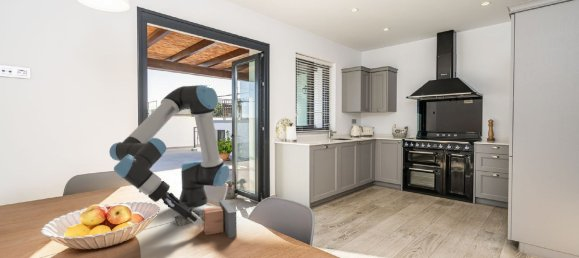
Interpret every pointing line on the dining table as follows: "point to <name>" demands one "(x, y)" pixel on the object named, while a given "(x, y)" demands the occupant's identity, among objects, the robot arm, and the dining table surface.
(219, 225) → the terracotta block
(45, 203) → the dining table surface
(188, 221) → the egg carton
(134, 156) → the robot arm
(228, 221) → the grey board
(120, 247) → the dining table surface
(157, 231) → the dining table surface
